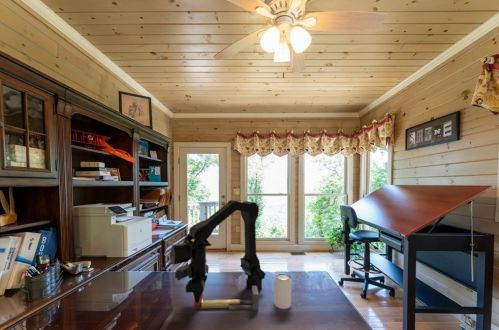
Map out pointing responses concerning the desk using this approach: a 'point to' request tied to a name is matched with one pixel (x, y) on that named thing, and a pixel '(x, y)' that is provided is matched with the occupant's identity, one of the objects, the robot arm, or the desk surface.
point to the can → (282, 291)
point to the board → (248, 301)
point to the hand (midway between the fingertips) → (198, 299)
